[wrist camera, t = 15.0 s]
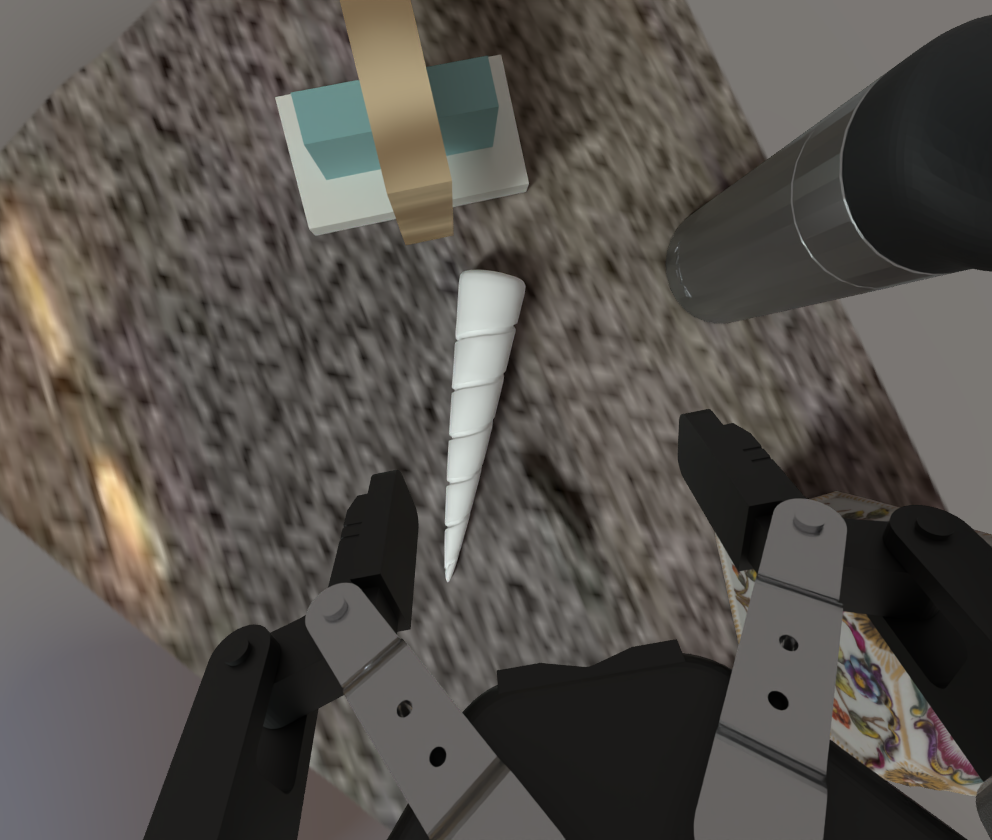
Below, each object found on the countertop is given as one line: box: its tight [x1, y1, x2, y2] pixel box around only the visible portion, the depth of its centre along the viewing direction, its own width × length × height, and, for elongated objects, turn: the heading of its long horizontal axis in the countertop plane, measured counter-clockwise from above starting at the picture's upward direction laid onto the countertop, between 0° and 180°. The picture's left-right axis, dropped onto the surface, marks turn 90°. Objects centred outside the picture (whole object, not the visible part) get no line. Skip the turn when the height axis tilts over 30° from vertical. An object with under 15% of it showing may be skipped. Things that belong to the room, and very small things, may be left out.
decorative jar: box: [714, 491, 992, 796], centre depth 31 cm, size 12×12×18 cm
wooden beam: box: [340, 0, 453, 245], centre depth 25 cm, size 16×3×8 cm, turn 13°
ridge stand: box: [275, 55, 529, 236], centre depth 32 cm, size 16×9×6 cm, turn 103°
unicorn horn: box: [445, 270, 526, 582], centre depth 35 cm, size 5×24×5 cm, turn 168°
